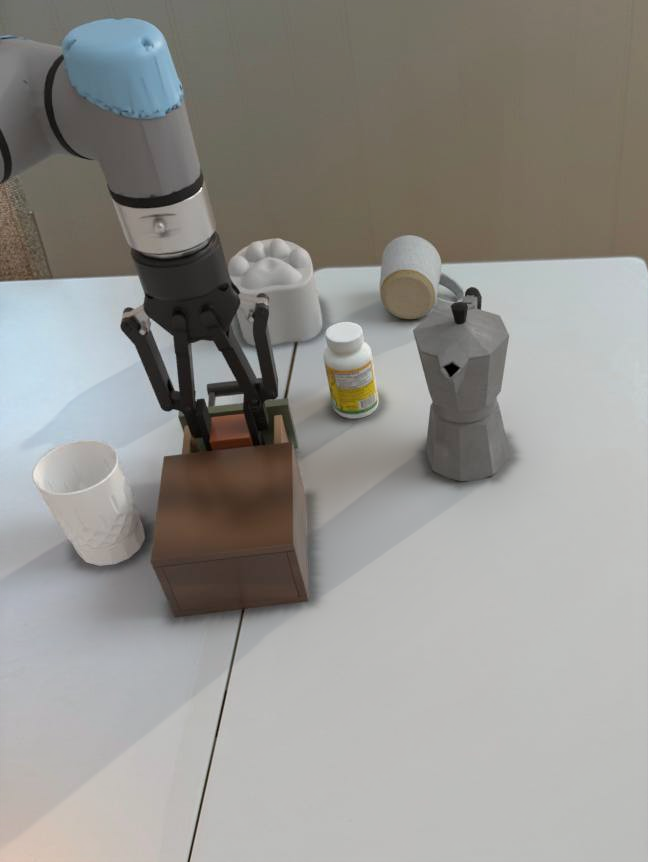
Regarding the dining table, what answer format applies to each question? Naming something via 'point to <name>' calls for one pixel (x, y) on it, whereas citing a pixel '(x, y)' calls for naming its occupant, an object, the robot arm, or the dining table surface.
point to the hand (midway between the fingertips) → (238, 455)
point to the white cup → (91, 500)
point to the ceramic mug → (414, 278)
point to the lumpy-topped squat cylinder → (279, 289)
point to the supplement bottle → (350, 371)
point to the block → (229, 432)
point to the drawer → (277, 411)
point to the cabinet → (231, 530)
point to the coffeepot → (464, 388)
